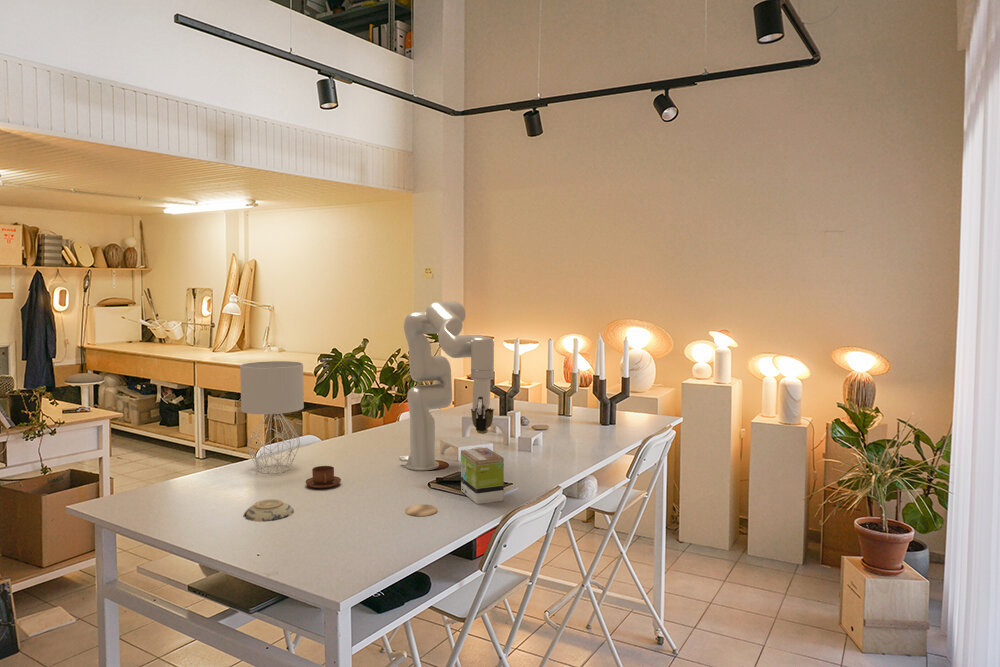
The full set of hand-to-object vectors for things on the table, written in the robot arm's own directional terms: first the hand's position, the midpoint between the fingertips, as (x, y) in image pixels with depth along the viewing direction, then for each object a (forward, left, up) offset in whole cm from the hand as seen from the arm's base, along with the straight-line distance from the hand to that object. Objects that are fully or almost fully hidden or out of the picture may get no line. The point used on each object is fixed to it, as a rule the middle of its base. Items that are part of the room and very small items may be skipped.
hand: (482, 427), depth 232 cm
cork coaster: (-17, -17, -23) cm, 33 cm away
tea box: (0, 0, -23) cm, 23 cm away
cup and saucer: (-57, +7, -24) cm, 62 cm away
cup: (0, 0, -2) cm, 2 cm away
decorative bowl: (-63, -24, -24) cm, 72 cm away
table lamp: (-82, +25, -23) cm, 89 cm away
